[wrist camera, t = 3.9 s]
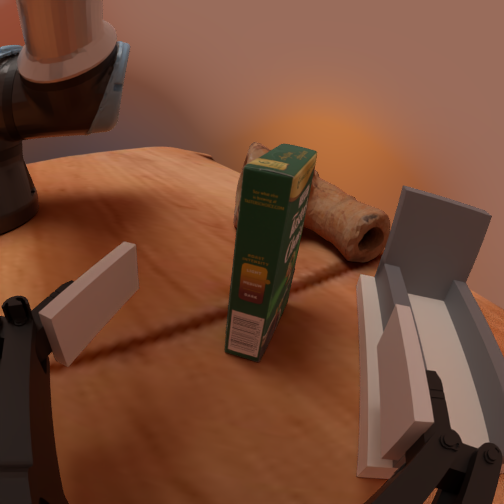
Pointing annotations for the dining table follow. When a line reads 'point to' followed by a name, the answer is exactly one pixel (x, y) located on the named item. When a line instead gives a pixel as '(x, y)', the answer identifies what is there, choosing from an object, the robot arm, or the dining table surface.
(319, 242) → the dining table surface
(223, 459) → the dining table surface
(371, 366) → the rack
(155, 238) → the dining table surface
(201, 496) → the dining table surface
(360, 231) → the clay pipe
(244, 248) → the coffee box
